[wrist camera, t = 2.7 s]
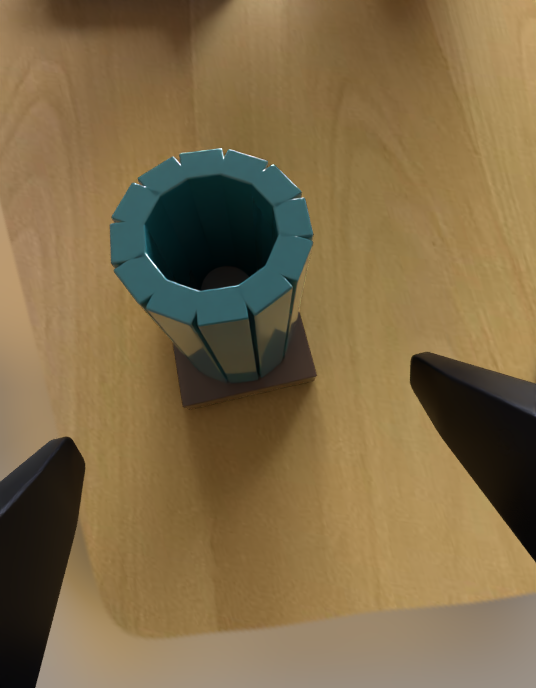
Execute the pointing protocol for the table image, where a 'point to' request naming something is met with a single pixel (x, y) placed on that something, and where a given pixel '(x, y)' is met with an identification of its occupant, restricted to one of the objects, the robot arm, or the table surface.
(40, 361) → the table surface
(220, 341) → the slatted teal pen holder
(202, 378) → the stand
